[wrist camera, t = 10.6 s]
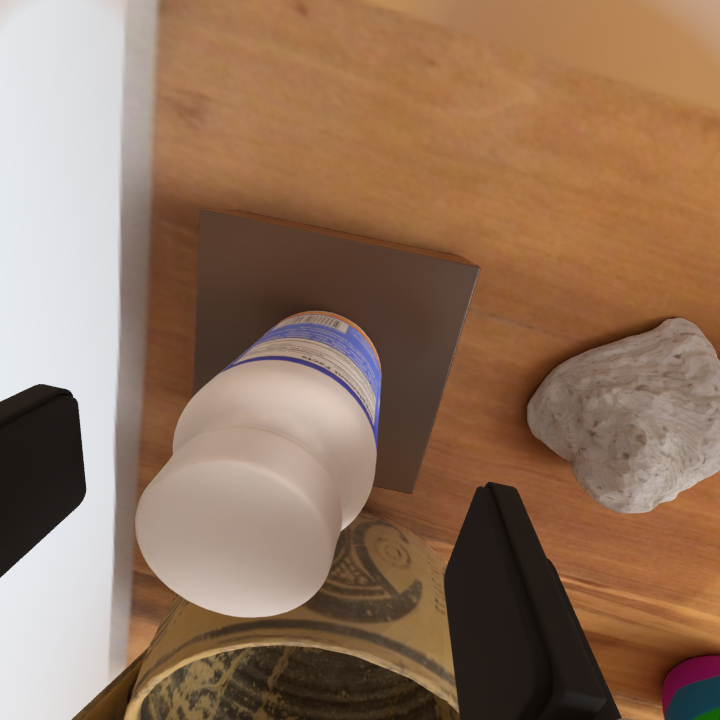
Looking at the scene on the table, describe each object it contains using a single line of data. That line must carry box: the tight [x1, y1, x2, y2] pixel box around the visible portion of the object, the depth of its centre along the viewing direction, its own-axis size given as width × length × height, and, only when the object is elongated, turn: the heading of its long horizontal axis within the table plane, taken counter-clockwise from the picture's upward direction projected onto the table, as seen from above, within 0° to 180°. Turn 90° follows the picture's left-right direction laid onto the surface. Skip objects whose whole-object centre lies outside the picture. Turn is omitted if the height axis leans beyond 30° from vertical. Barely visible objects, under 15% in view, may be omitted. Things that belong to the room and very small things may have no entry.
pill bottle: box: [135, 311, 382, 618], centre depth 12 cm, size 5×5×10 cm
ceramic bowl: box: [72, 510, 460, 720], centre depth 19 cm, size 22×17×15 cm
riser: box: [193, 209, 480, 494], centre depth 18 cm, size 11×11×4 cm
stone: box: [527, 318, 720, 513], centre depth 19 cm, size 10×5×10 cm
